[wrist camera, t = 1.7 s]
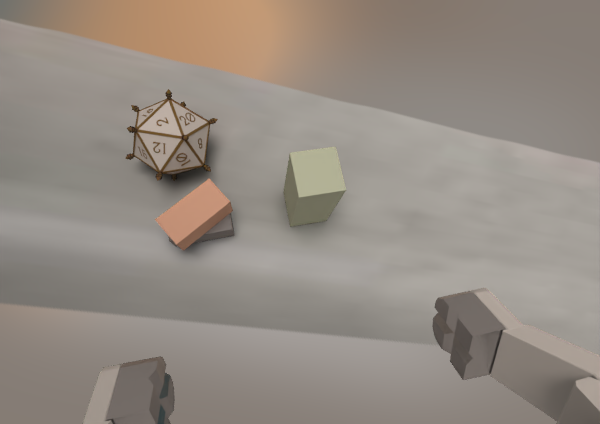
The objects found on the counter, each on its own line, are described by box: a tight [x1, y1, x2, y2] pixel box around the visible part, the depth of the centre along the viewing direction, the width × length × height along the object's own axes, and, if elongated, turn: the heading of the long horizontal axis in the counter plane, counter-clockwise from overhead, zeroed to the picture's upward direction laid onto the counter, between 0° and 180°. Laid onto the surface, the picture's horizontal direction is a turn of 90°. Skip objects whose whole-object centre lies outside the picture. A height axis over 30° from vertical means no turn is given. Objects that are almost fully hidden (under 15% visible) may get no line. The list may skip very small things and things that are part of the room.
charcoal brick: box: [169, 213, 234, 246], centre depth 37 cm, size 6×3×3 cm, turn 102°
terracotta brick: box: [155, 179, 233, 251], centre depth 34 cm, size 6×3×3 cm, turn 132°
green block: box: [284, 147, 346, 227], centre depth 35 cm, size 4×4×10 cm
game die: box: [125, 89, 217, 181], centre depth 36 cm, size 9×8×10 cm
